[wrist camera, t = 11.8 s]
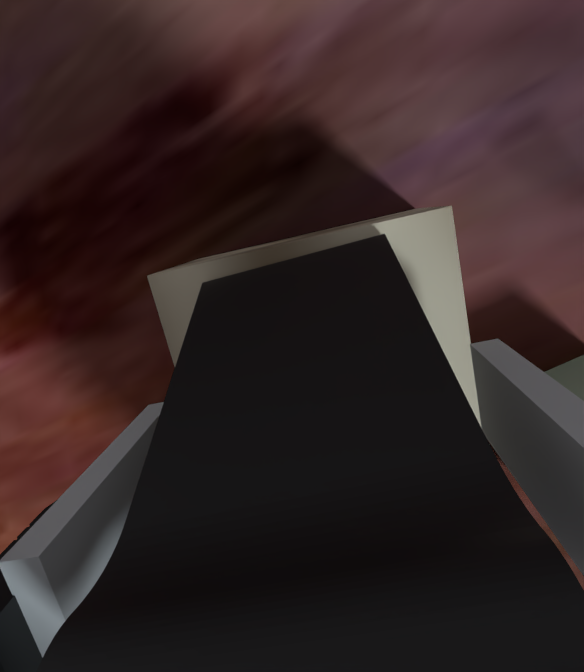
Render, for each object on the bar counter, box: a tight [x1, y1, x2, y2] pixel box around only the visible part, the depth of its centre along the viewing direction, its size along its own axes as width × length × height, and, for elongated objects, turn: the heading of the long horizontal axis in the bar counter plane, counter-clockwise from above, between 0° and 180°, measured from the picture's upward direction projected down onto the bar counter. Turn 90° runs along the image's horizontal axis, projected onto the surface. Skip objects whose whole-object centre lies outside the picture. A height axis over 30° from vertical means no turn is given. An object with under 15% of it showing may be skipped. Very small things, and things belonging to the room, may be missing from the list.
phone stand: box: [37, 233, 584, 672], centre depth 10 cm, size 9×6×12 cm, turn 15°
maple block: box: [147, 206, 482, 428], centre depth 19 cm, size 10×10×6 cm
